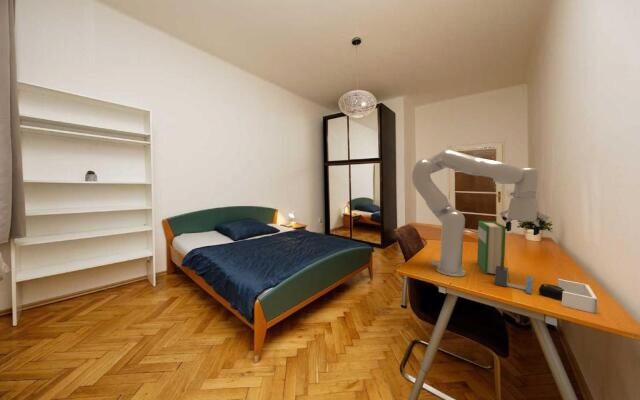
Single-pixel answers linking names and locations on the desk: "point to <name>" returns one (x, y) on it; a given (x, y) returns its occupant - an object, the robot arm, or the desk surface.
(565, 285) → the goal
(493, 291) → the desk surface
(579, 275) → the desk surface
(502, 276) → the block dumbbell
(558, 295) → the tape measure
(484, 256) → the hardback book
